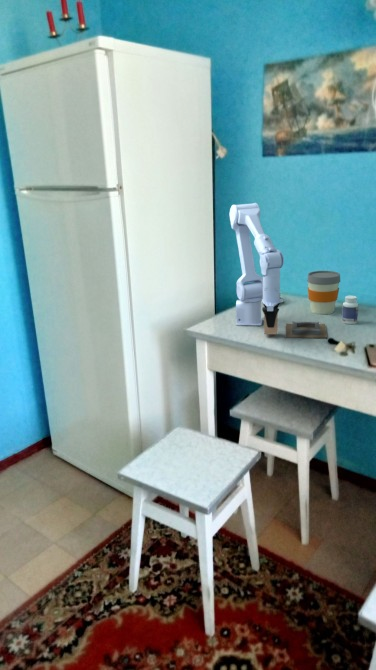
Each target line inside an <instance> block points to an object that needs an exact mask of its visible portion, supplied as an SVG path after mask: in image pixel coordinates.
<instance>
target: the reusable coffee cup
mask: <svg viewBox="0 0 376 670" xmlns="http://www.w3.org/2000/svg"><path fill="white" fill-rule="evenodd" d="M306 281H307V284H308V285H307V294H308V295H307V296H308V300H309V305H310V306H309V307H310V312H312V313H313V314H317V315H330V314H333V313H334V311H335V308H336V302H337V301H338V298H339V292H340V287H339V286H340V283H341V274H340V272H337V271H334V270H314V271H311V272H308V273H307V279H306Z"/></svg>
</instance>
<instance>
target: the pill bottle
mask: <svg viewBox="0 0 376 670" xmlns="http://www.w3.org/2000/svg"><path fill="white" fill-rule="evenodd" d="M357 300H358V299H357V296H355V295H346V296H345V297H344V301H343V303H342V313H341V322H342V323H343V324H346V325H354V324H357V323H358V315H359V303H358V302H357Z"/></svg>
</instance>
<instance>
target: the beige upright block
mask: <svg viewBox="0 0 376 670" xmlns="http://www.w3.org/2000/svg"><path fill="white" fill-rule="evenodd" d="M263 316H264V317H263V318H264V319H263V320H264V321H263V322H264V323H263V324H264V325H263V326H264V327H263V330H264V331H263V333H264V335H278V326H279V325H278V323H279V321H278V318H279V312H278V313H277V315H276V319H275V325H274V328H268V327H267V322H266V317H265V315H264V314H263Z"/></svg>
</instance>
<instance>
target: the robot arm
mask: <svg viewBox="0 0 376 670" xmlns="http://www.w3.org/2000/svg"><path fill="white" fill-rule="evenodd" d="M228 213H229V221H230V226H231V229H232V230H233V231H235V236H236V237H235V238H236V243H237V247H238V249H237V250H238V254H239V260H240V261H239V262H240V267H241V274H242V275H241V276H240V277H239V278H238V279H237V281H236V295H237V298H238V299H236V303H235V320H236V322H235V325H236V326H260V327H261V326H262V324H263V320H264V319H263V318H264V317H263V318H262V313H263V316H264V315H265V317H266V322H267V327H268V328H274V325H275V319H276V315H277V313H278V314H279V311H280V308H279V307H280V304H281V303H283V302H284V299H283V298H281V299H280V297H281V293H280V292H281V268H283V266H284V262H285V261H284V254H283V252H282V251H281V250H279V249H278V248H276V247H275V245H274V244H273V241H272V238H271V237H270V235H268V234H265V231H264V228H263V226H262V222H261V220H260V218H261V208H260V206H259V204H258V203H257V202H254V203H241V204H232V205H231V207H230V209H229V212H228ZM250 232H251V233H250ZM250 234H252V235H253V237H254V240H253V244H254V247H255V249H256V251H257V254H258V256H259V266H260V272H261V275H262V276H261V275H260V274H258V273H257V272H256V266H255V259H254V254H253V248H252V247H253V246H252V241H251V235H250ZM262 303H263V307H262Z"/></svg>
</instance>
